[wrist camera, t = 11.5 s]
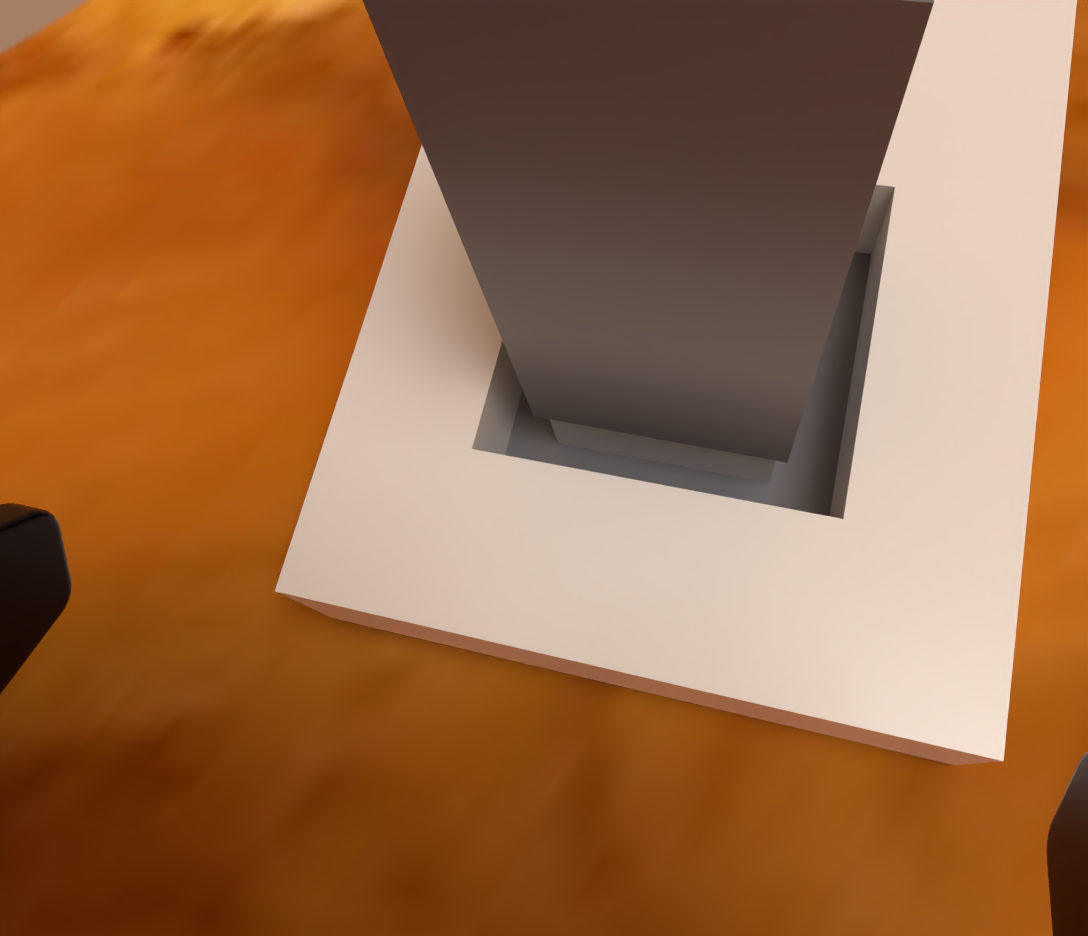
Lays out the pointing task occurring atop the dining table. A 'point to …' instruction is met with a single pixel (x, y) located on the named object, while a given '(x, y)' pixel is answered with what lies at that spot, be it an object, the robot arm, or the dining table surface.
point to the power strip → (731, 502)
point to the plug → (658, 198)
